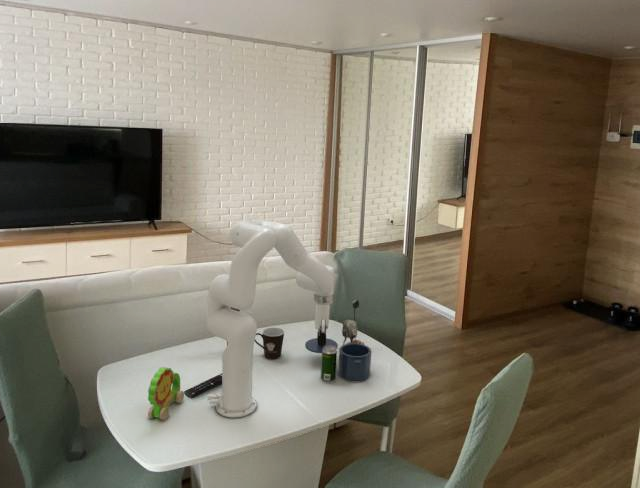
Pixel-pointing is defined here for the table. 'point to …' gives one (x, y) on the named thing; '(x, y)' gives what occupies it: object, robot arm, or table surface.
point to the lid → (314, 347)
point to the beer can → (328, 363)
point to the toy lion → (164, 392)
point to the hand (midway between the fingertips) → (321, 342)
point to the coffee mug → (272, 342)
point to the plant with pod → (351, 327)
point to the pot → (354, 362)
